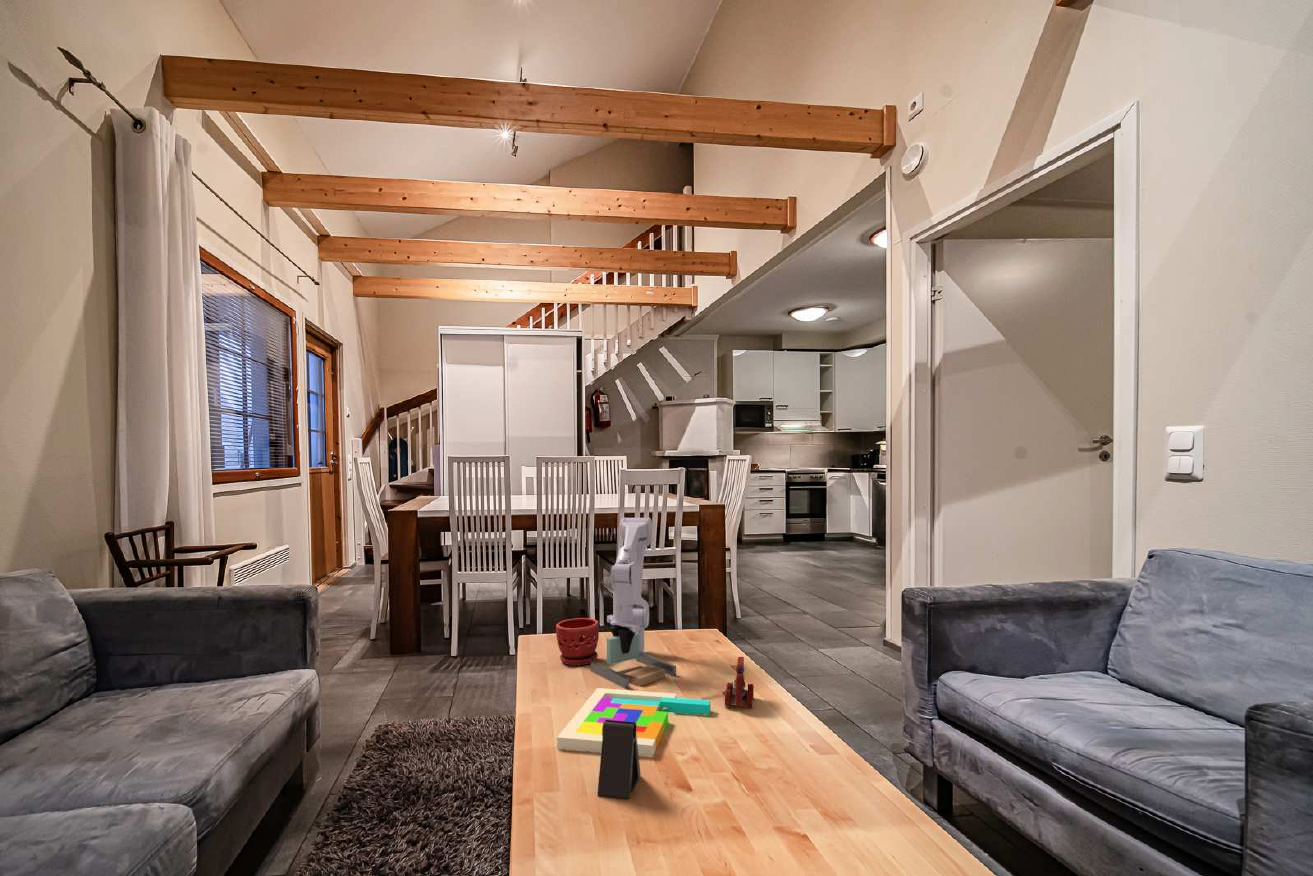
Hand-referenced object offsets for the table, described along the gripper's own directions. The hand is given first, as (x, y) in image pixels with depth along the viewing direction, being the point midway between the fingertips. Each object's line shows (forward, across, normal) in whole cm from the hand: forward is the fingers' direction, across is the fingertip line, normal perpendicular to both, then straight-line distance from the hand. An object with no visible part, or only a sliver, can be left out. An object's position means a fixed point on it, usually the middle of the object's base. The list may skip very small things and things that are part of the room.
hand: (623, 652), depth 185 cm
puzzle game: (+7, +33, -17) cm, 38 cm away
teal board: (+2, 0, 0) cm, 2 cm away
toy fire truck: (+6, +37, +11) cm, 39 cm away
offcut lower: (+7, +11, 0) cm, 13 cm away
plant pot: (+6, -18, -5) cm, 20 cm away
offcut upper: (+5, +11, 0) cm, 12 cm away
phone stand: (+6, +53, -36) cm, 64 cm away
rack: (+6, +5, 0) cm, 8 cm away
